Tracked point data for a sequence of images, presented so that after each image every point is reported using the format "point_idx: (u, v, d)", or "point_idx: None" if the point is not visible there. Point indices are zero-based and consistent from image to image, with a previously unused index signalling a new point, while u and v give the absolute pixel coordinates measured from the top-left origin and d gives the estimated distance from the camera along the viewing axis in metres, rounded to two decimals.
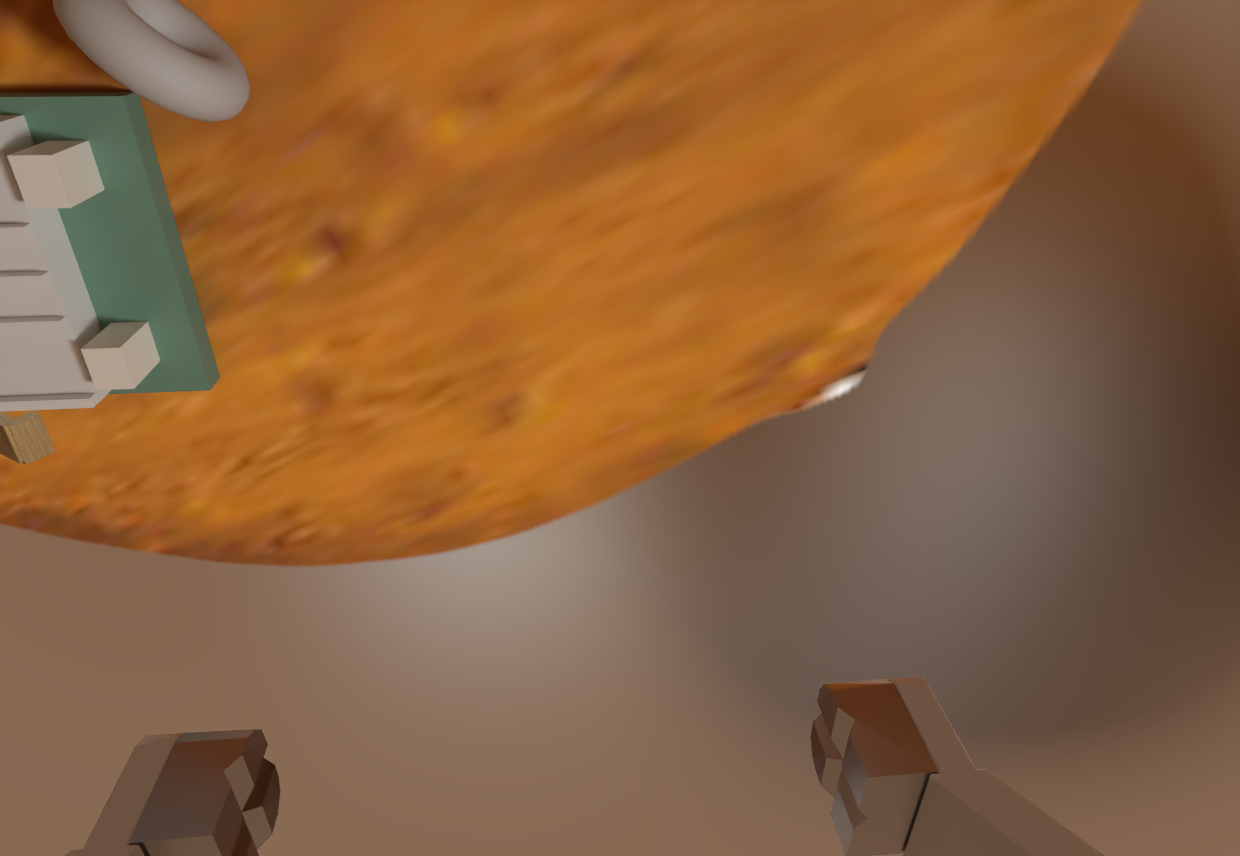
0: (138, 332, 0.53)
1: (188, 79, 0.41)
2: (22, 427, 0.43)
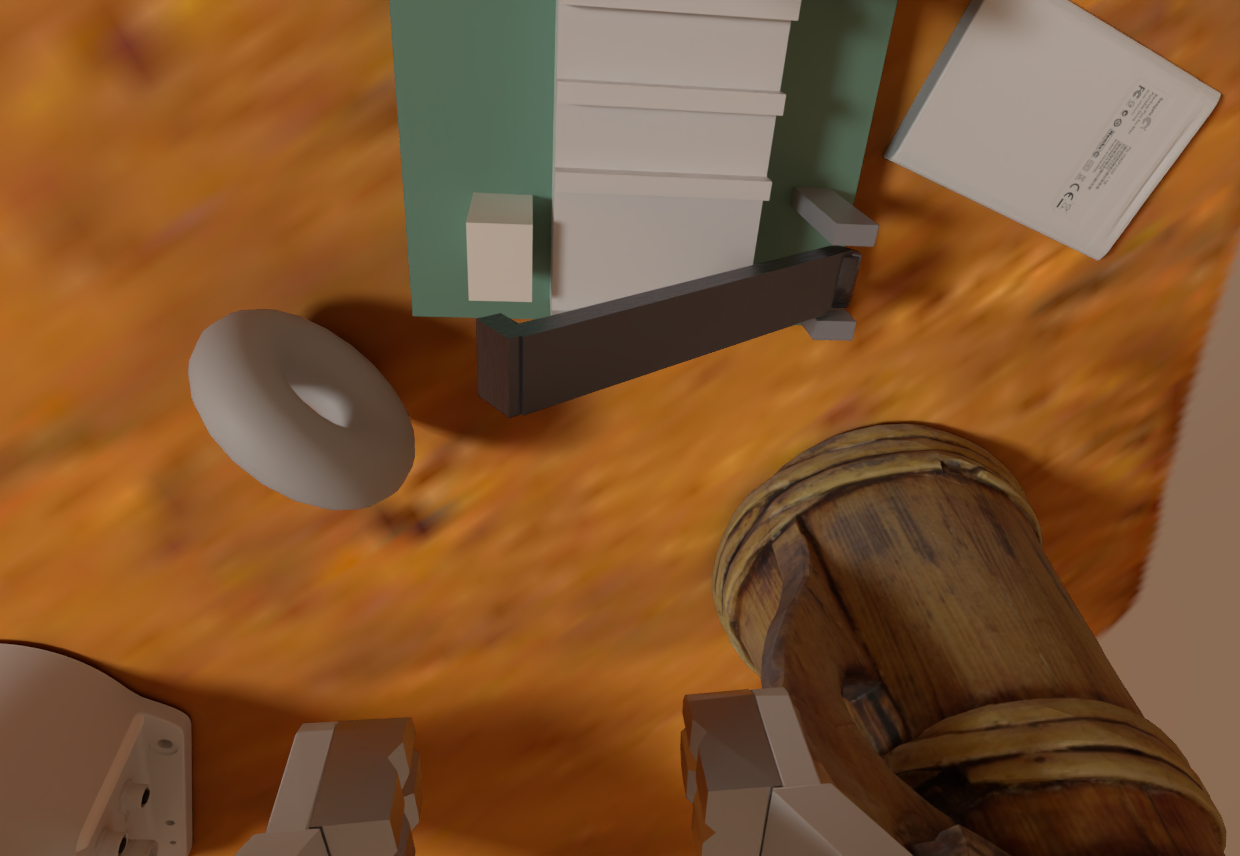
0: None
1: (207, 425, 0.29)
2: None
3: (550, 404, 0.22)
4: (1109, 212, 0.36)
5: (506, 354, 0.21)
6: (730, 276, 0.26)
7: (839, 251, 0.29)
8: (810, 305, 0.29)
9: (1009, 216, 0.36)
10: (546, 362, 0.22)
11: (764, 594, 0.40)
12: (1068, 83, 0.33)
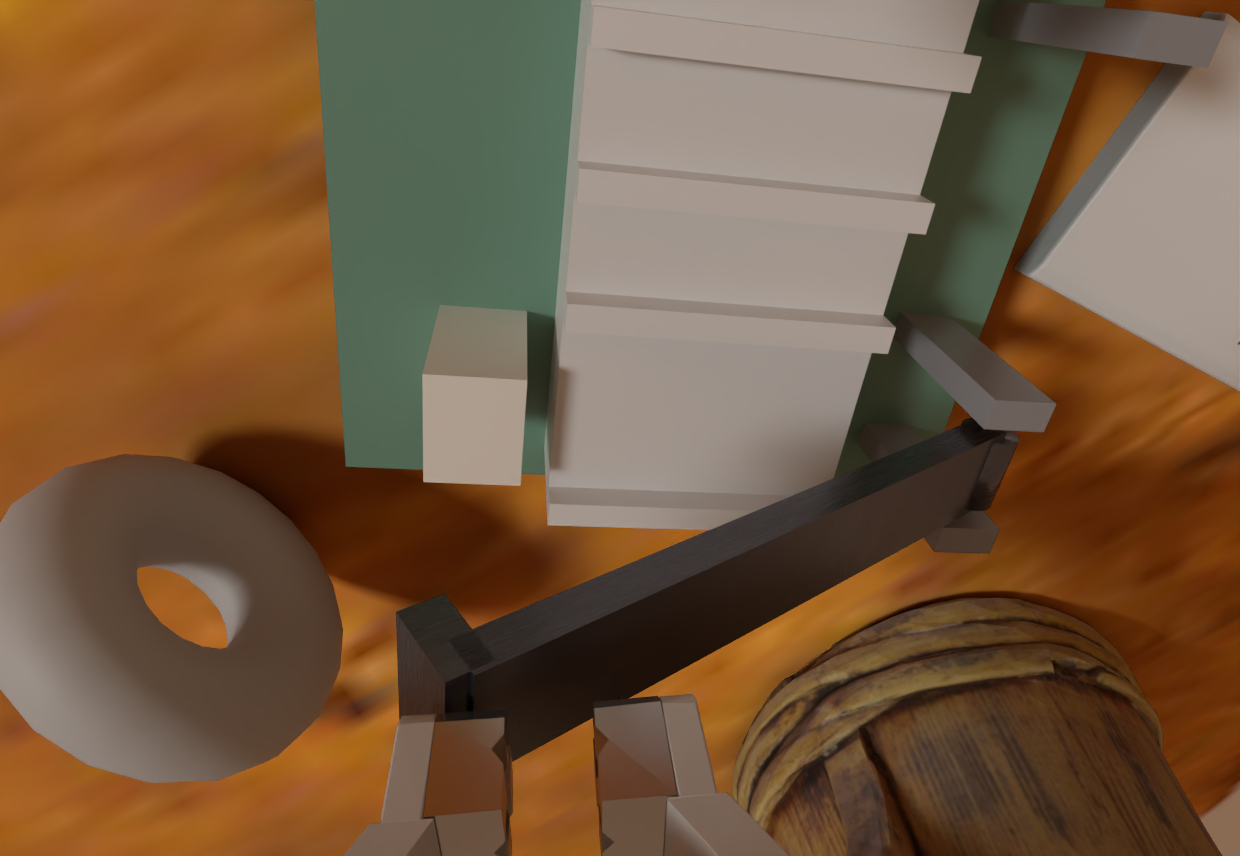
0: None
1: None
2: None
3: (522, 754, 0.13)
4: None
5: (441, 701, 0.11)
6: (835, 494, 0.16)
7: (988, 434, 0.19)
8: (939, 513, 0.19)
9: (1173, 353, 0.26)
10: (518, 698, 0.12)
11: (812, 829, 0.30)
12: None
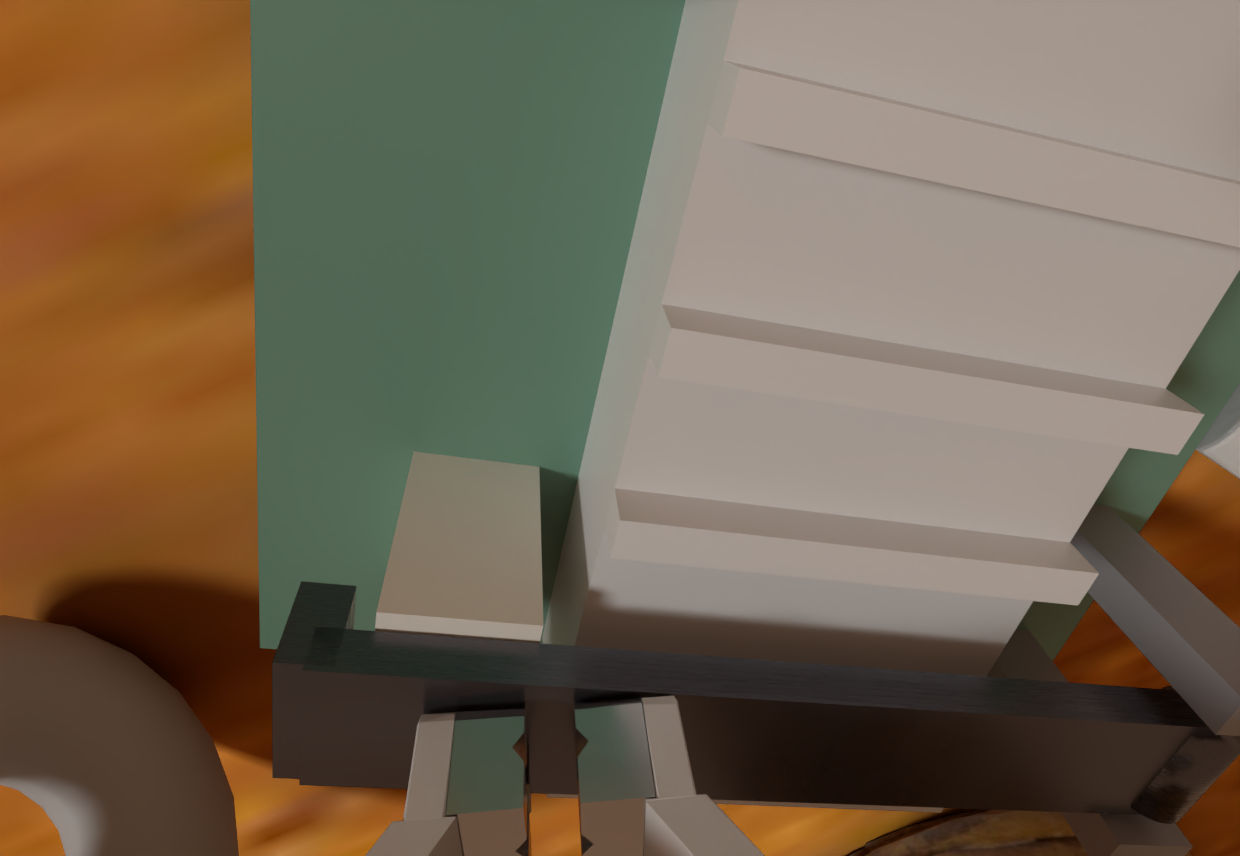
0: None
1: None
2: None
3: (365, 784, 0.12)
4: None
5: (274, 680, 0.11)
6: (875, 688, 0.12)
7: (1188, 719, 0.13)
8: (1071, 790, 0.14)
9: None
10: (359, 721, 0.11)
11: None
12: None
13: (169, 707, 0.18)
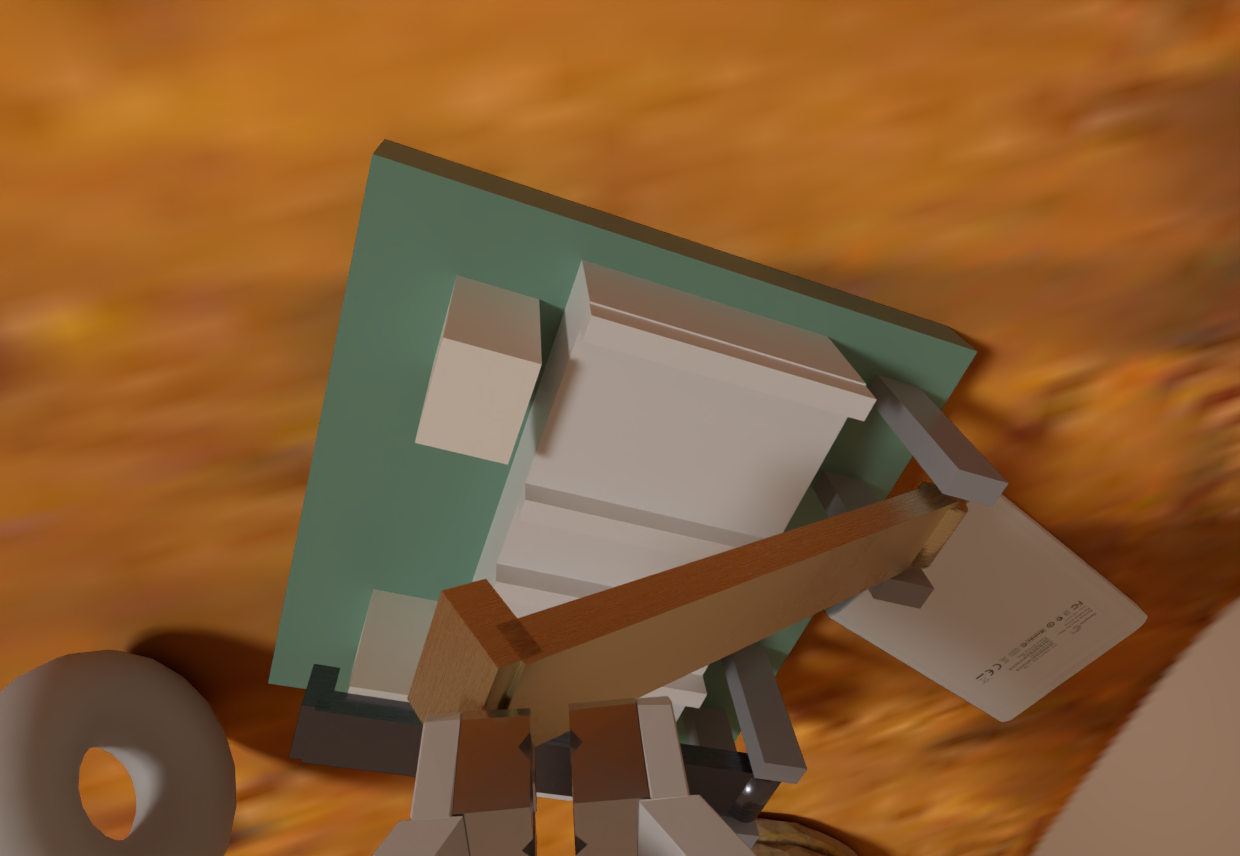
0: (427, 388, 0.22)
1: None
2: None
3: (333, 765, 0.24)
4: (1022, 690, 0.36)
5: (299, 713, 0.23)
6: None
7: (751, 769, 0.27)
8: None
9: (929, 677, 0.35)
10: (336, 735, 0.23)
11: None
12: (1015, 588, 0.32)
13: (204, 711, 0.30)
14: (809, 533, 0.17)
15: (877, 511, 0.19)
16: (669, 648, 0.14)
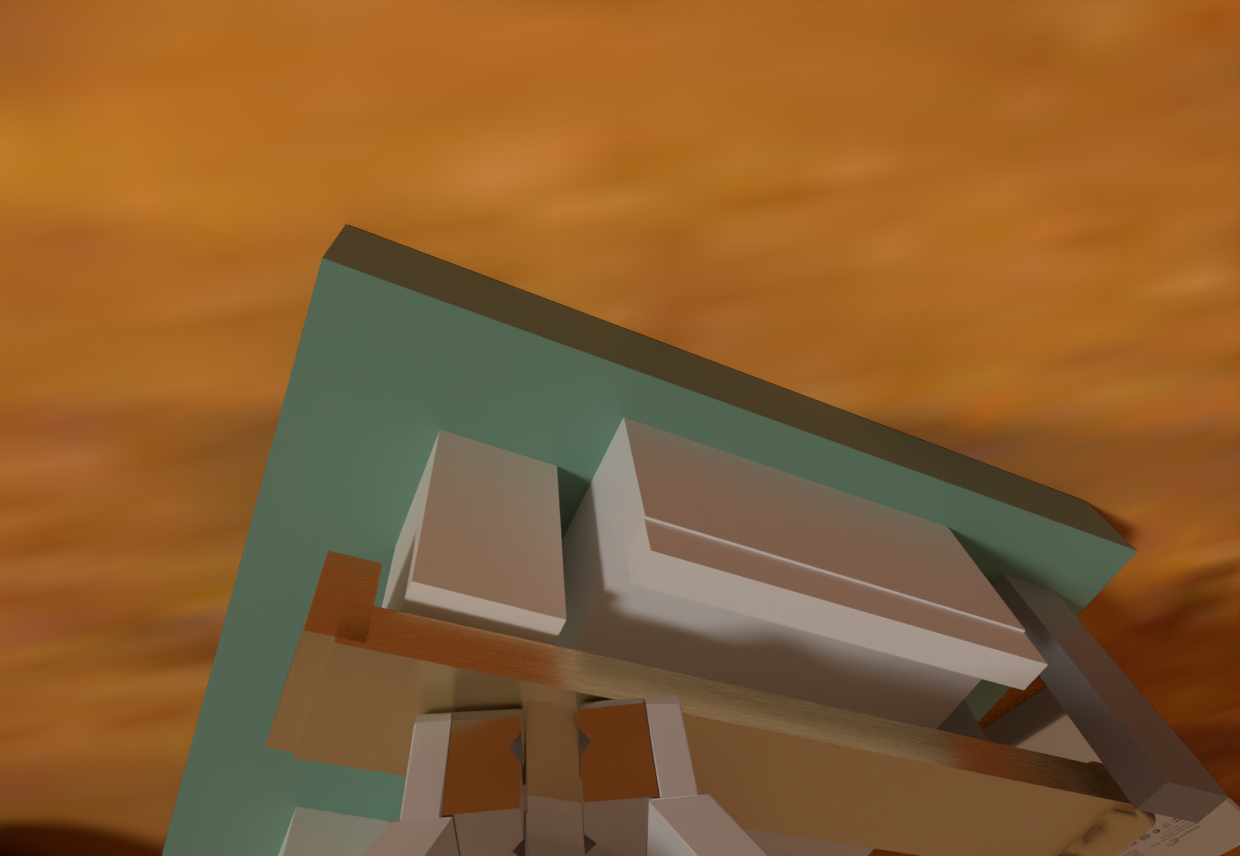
0: (385, 594, 0.15)
1: None
2: None
3: None
4: None
5: None
6: None
7: None
8: None
9: None
10: None
11: None
12: None
13: None
14: (834, 717, 0.13)
15: (971, 747, 0.14)
16: (562, 746, 0.12)
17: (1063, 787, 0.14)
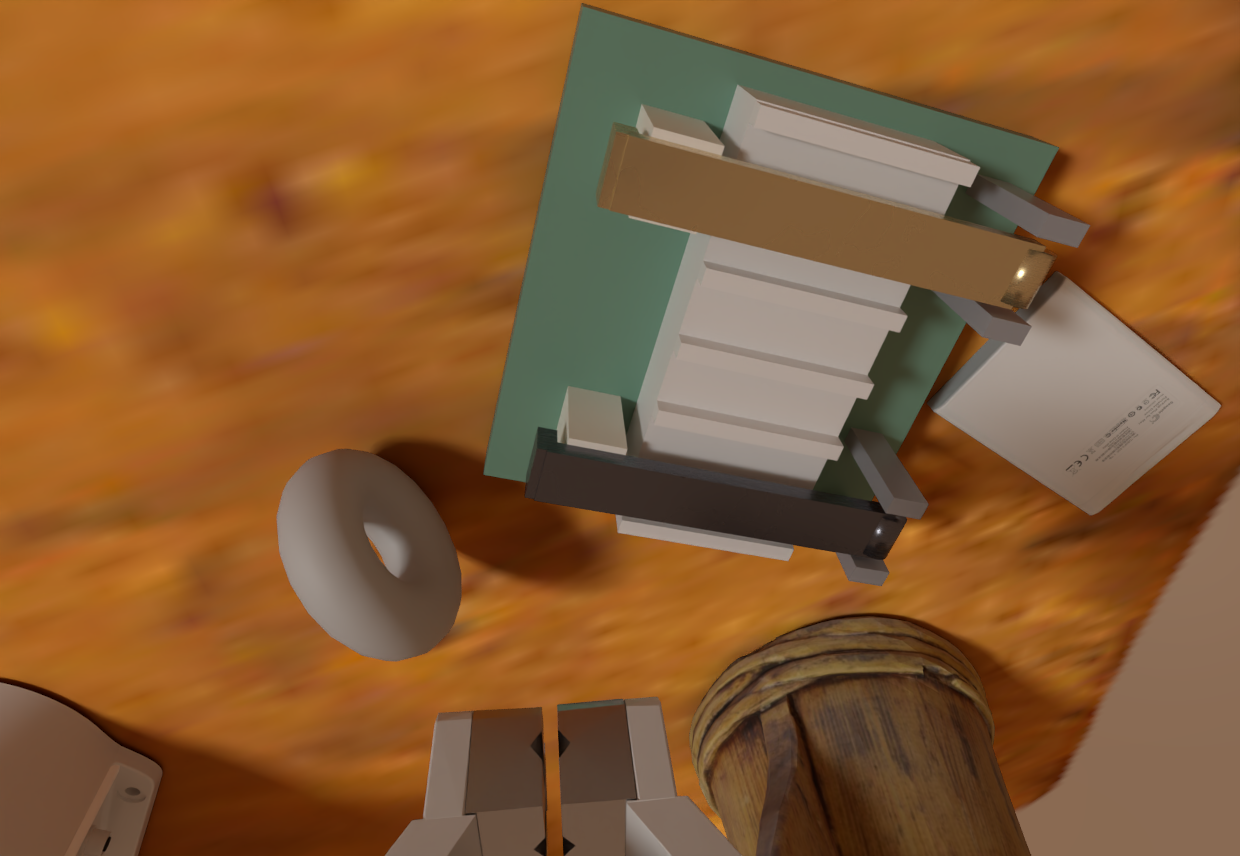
0: None
1: (291, 579, 0.30)
2: (599, 193, 0.26)
3: (557, 503, 0.31)
4: (1108, 481, 0.41)
5: (534, 456, 0.30)
6: (751, 484, 0.32)
7: (881, 511, 0.33)
8: (834, 540, 0.33)
9: (1024, 470, 0.40)
10: (561, 475, 0.31)
11: (745, 760, 0.43)
12: (1098, 378, 0.37)
13: (431, 504, 0.38)
14: (861, 194, 0.26)
15: (941, 215, 0.27)
16: (728, 200, 0.25)
17: (996, 234, 0.27)
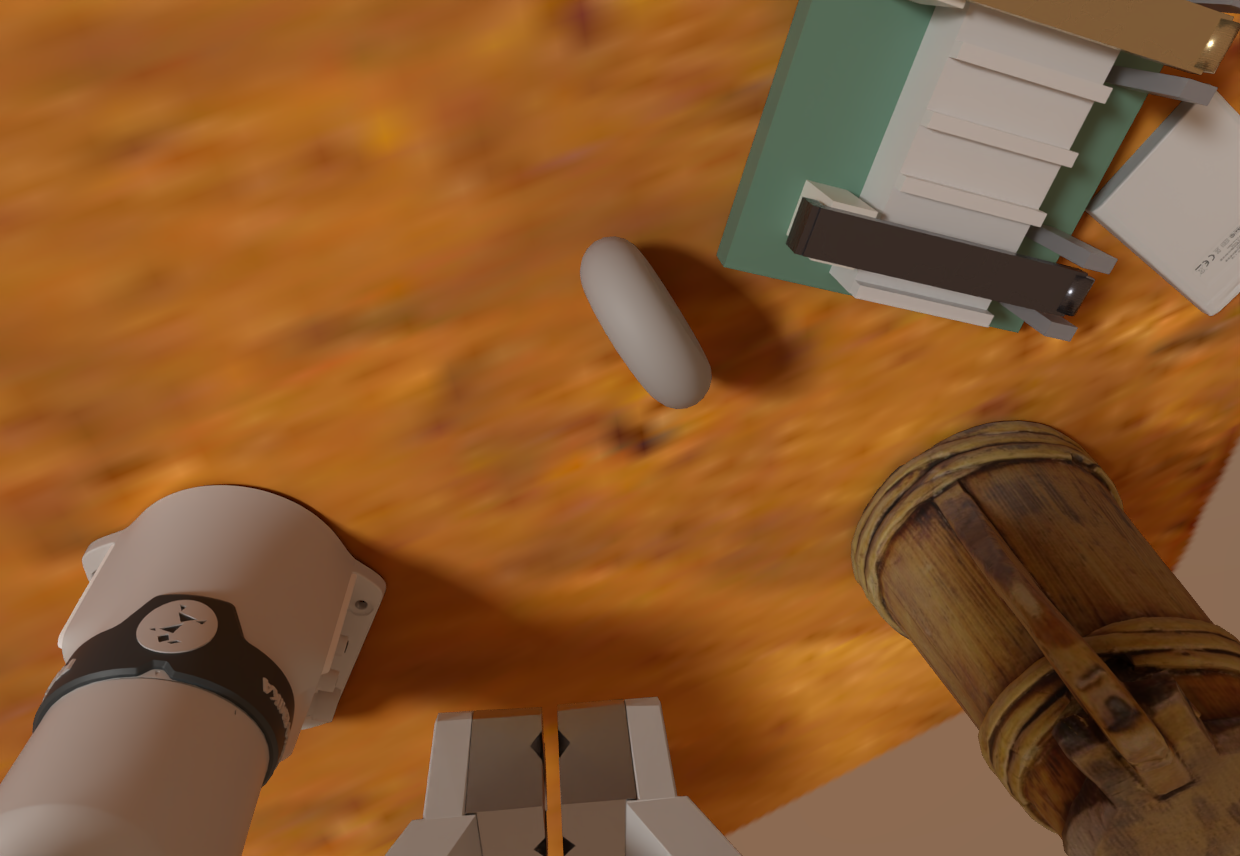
0: None
1: (611, 318, 0.37)
2: None
3: (820, 258, 0.38)
4: (1229, 280, 0.48)
5: (808, 214, 0.37)
6: (974, 244, 0.39)
7: (1075, 270, 0.40)
8: (1035, 298, 0.40)
9: (1160, 270, 0.47)
10: (828, 230, 0.37)
11: (922, 538, 0.50)
12: (1228, 179, 0.45)
13: (672, 299, 0.44)
14: None
15: None
16: None
17: (1197, 5, 0.34)
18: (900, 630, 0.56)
